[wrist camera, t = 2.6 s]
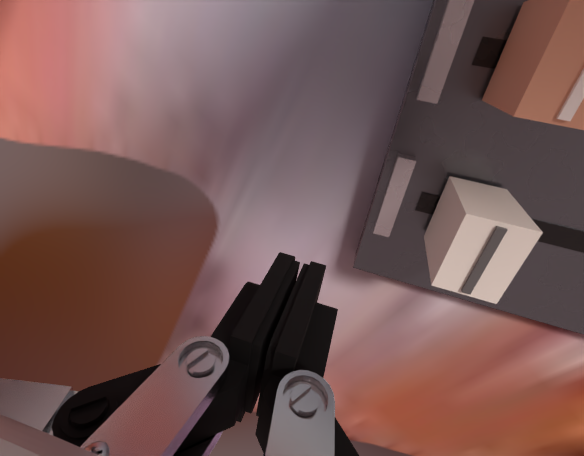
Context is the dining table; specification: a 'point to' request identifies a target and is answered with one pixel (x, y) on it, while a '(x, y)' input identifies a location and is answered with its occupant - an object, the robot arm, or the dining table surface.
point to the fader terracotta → (543, 65)
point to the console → (478, 167)
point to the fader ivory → (477, 239)
